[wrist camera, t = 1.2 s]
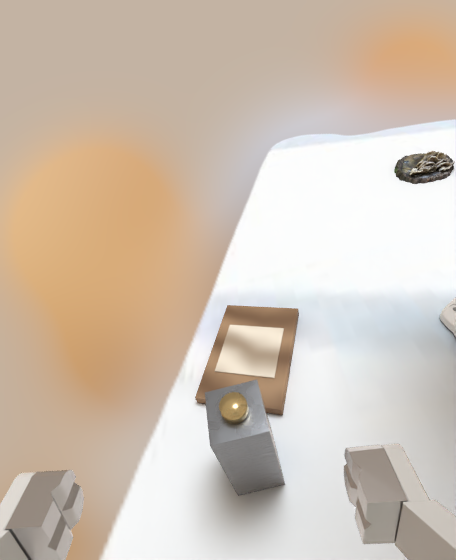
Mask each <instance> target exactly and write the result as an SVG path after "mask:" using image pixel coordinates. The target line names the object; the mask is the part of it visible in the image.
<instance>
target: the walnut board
mask: <svg viewBox="0 0 456 560" xmlns="http://www.w3.org/2000/svg"><path fill="white" fill-rule="evenodd" d="M298 316H299V312H298V309H292V308H272V307H251V306H230V305H227V308H226V311H225V314H224V317H223V320H222V323H221V325H220V328H219V331H218V334H217V337H216V340H215V343H214V345H213V348H212V351H211V354H210V357H209V360H208V363H207V365H206V368H205V371H204V374H203V377H202V380H201V383H200V385H199V388H198V391H197V394H196V397H195V398H196V400H197V402H198V403H205V404H206V400H205V392H209V391H213V390H217V389H221V388H225V387H229V386H233V385H237V384H241V383H245V382H249V381H253V380H257V381H258V385H259V388H260V392H261V395H262V399H263V402H264V406H265V409H266V413H273V414H279V415H283V409H284V403H285V397H286V391H287V384H288V378H289V372H290V366H291V359H292V353H293V347H294V341H295V334H296V328H297V322H298Z"/></svg>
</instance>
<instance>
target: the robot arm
mask: <svg viewBox="0 0 456 560" xmlns="http://www.w3.org/2000/svg"><path fill="white" fill-rule="evenodd" d="M455 311H456V297H455V298H454V299H453V300H452V301H451V302H450V303H449V304H448V305H447V306H446V307H445V308H444V309H443V310H442V312H441V314H440V319H441V321H442V322H443V323H444V325H445V326H446V327H447V328H448V329H450V330H451V331H452V332H453V334H454V335H455V337H456V312H455ZM345 459H346V462H347V464H346V465H345V466H344V479H345V486H346V490H347V494H348V497H349V501H350V502H351V503H352V504H353V505H354V506H355V507H356V510H355V520H356V523H357V526H358V529H359V533H360V536H361V539H362V542H363V544H380V543H395V545H396V546H397V547H398V549H399V550H400V551H401V552H402V553H403V554H404V555H405V556H406V558H407V559H408V560H456V516H455V515H453V514H452V513H451V512H450V511H448V510H447V509H446V508H445V507H444V506H442V505H441V504H440V503H439V502H437V501H436V500H429V498H428V496H427V494H426V492H425V490H424V488H423V486H422V484H421V482H420V480H419V478H418V476H417V475H416V473H415V471H414V469H413V467H412V465H411V463H410V461H409V459H408V457H407V455H406V453H405V451H404V449H403V447H402V446H401V445H400V444H389V445H371V446H361V447H350V448H346V449H345ZM75 478H76V476H75V474H74V472H73V471H72V470H62V471H46V472H29V473H20V474H19V475H18V476H17V477H16V478H15V479H14V481H13V483H12V484H11V486H10V488H9V490H8V492H7V493H6V495H5V497H4V499H3V501H2V502H1V504H0V560H65V559H66V556H67V553H68V551H69V548H70V545H71V542H72V539H73V536H72V532H71V529H72V528H73V527H74V526H75V525H76V524H77V522H78V521H79V519H80V516H81V513H82V508H83V501H84V497H83V491H82V489H81V487H80V486H79V485H77V484H76V483H74V481H75Z"/></svg>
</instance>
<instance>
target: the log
mask: <svg viewBox="0 0 456 560" xmlns="http://www.w3.org/2000/svg"><path fill="white" fill-rule="evenodd" d="M454 163H455V162H453V160H452V159H451V158H450V157H449V156H447V154H446V155H444V153H442V152H440V153H439V152H435V151H431V152H428V153H426V154H414V155H410V156H405V157H403V158H402V159H401V160H398V162H397V164H396V167H395V173H396V177H398V178H399V179H400V180H403V181H405V182H410V183H412V184H418V183H428V182H433V181H436V180H442V179H444V178H447V177H448V176H450V173H451V172H452V170H453V169H454V166H453V164H454Z"/></svg>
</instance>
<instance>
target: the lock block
mask: <svg viewBox="0 0 456 560" xmlns="http://www.w3.org/2000/svg"><path fill="white" fill-rule="evenodd" d="M205 400H206V410H207V420H208V429H209V439H210V446H211V448H212V450H213V452H214V453H215V455H216V457H217V459H218V461H219V462H220V464H221V466H222V468H223V469H224V471H225V473H226V475H227V477H228V478H229V480H230V482H231V484H232V486H233V487H234V489H235V491H236V493H237V494H238V495H242V494H247V493H251V492H255V491H259V490H263V489H267V488H272V487H276V486H280V485H284V484H285V482H284V478H283V474H282V470H281V466H280V462H279V458H278V454H277V450H276V446H275V442H274V438H273V434H272V430H271V427H270V423H269V420H268V416H267V413H266V409H265V406H264V402H263V399H262V395H261V392H260V388H259V385H258V381H257V380H253V381H249V382H245V383H241V384H237V385H233V386H229V387H225V388H221V389H217V390H213V391H209V392H205Z"/></svg>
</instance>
